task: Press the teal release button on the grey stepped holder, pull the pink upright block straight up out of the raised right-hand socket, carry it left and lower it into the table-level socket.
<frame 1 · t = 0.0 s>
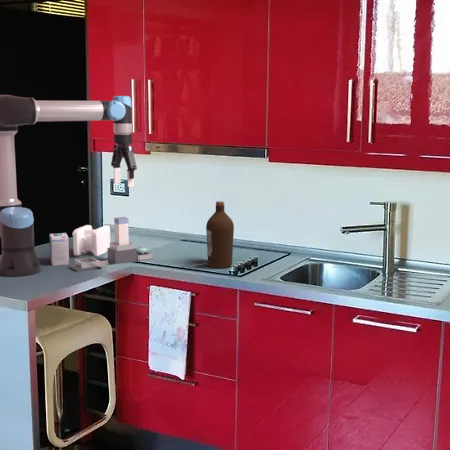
hand: (124, 185, 291), 28 cm above the counter, tool pointing down, fingers open, 13 cm apart
olive oil: (219, 266, 268), on the counter
light bulb box: (59, 262, 274), on the counter
cable organizer: (92, 255, 287), on the counter
pink upright block: (122, 248, 271), point 6 cm above the counter, touching grey stepped holder
release button: (141, 250, 276), point 4 cm above the counter, slide at 0.0 cm
grey stepped holder: (112, 264, 270), on the counter
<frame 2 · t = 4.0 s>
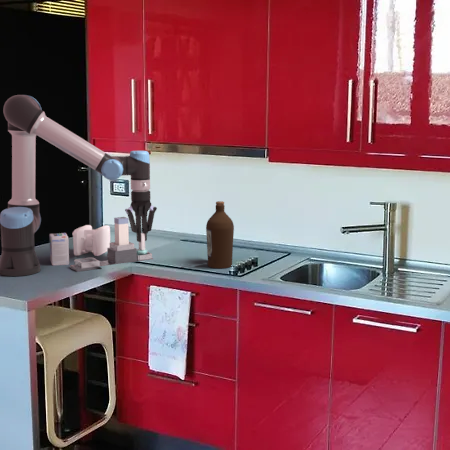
hand: (142, 249, 276), 5 cm above the counter, tool pointing down, fingers closed
release button: (141, 251, 276), point 4 cm above the counter, slide at 0.6 cm, touching gripper
everything else where it was.
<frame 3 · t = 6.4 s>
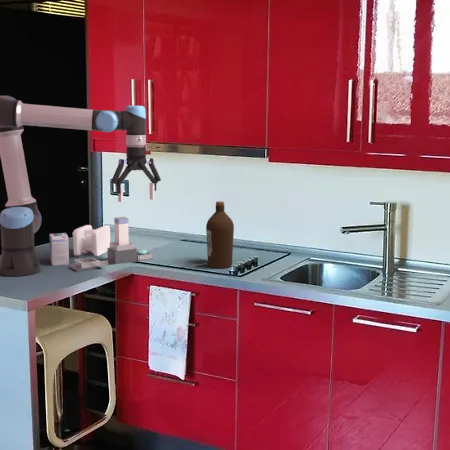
hand: (136, 200, 272), 24 cm above the counter, tool pointing down, fingers open, 13 cm apart
release button: (141, 252, 276), point 3 cm above the counter, slide at 0.8 cm
everything else where it was.
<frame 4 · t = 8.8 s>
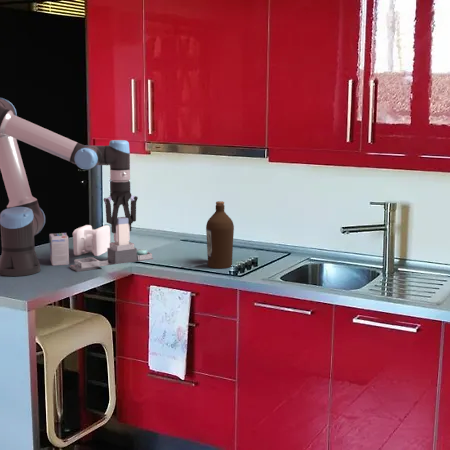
hand: (121, 240, 271), 9 cm above the counter, tool pointing down, fingers closed on pink upright block, 4 cm apart
pink upright block: (121, 248, 271), point 6 cm above the counter, touching gripper, grey stepped holder
everything else where it was.
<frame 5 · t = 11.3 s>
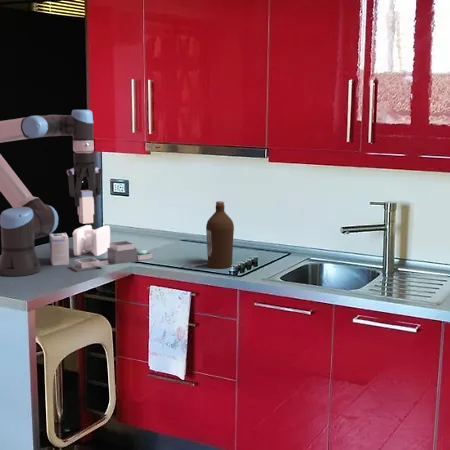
hand: (86, 214, 261), 21 cm above the counter, tool pointing down, fingers closed on pink upright block, 4 cm apart
pink upright block: (86, 222, 261), point 18 cm above the counter, touching gripper
everything else where it was.
when the fingers open (5 cm above the counter, at t = 13.6 s): pink upright block stays where it is, resting on grey stepped holder.
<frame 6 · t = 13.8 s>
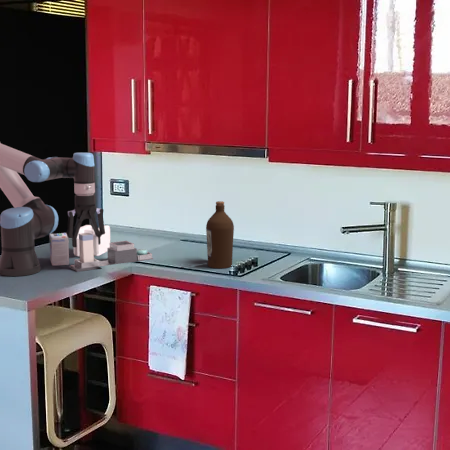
hand: (86, 254, 264), 5 cm above the counter, tool pointing down, fingers open, 7 cm apart
pink upright block: (87, 265, 264), point 1 cm above the counter, touching grey stepped holder
everything else where it was.
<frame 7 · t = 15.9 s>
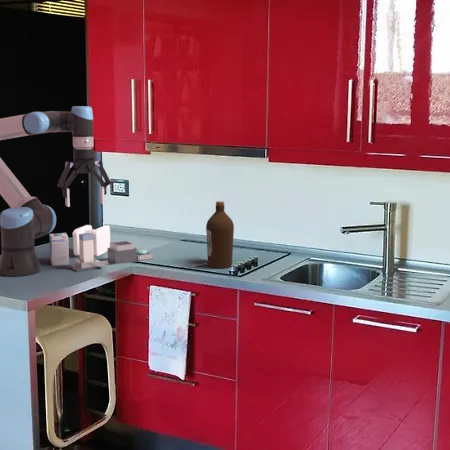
hand: (85, 205, 262), 24 cm above the counter, tool pointing down, fingers open, 13 cm apart
nothing on the counter moved.
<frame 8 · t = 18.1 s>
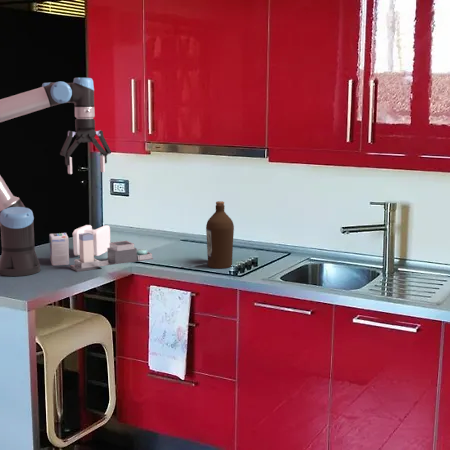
hand: (86, 172, 273), 35 cm above the counter, tool pointing down, fingers open, 13 cm apart
nothing on the counter moved.
at the end: pink upright block 0.1 cm from the target spot on the grey stepped holder, point 1.1 cm above the grey stepped holder's base; pink upright block tilted 0°; release button slide at 0.8 cm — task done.
